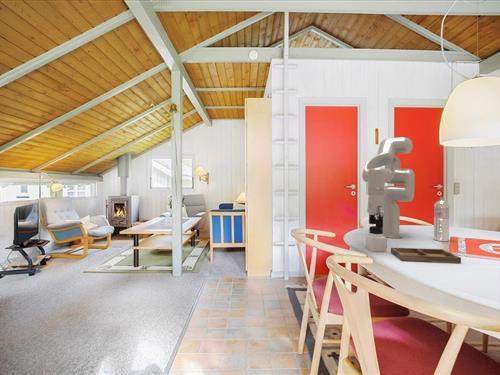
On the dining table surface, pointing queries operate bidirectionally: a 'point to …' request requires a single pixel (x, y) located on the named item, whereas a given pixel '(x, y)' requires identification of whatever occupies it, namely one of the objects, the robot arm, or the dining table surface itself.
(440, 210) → the water bottle
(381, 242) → the medicine bottle
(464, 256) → the dining table surface
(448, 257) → the tray
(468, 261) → the dining table surface
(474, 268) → the dining table surface
